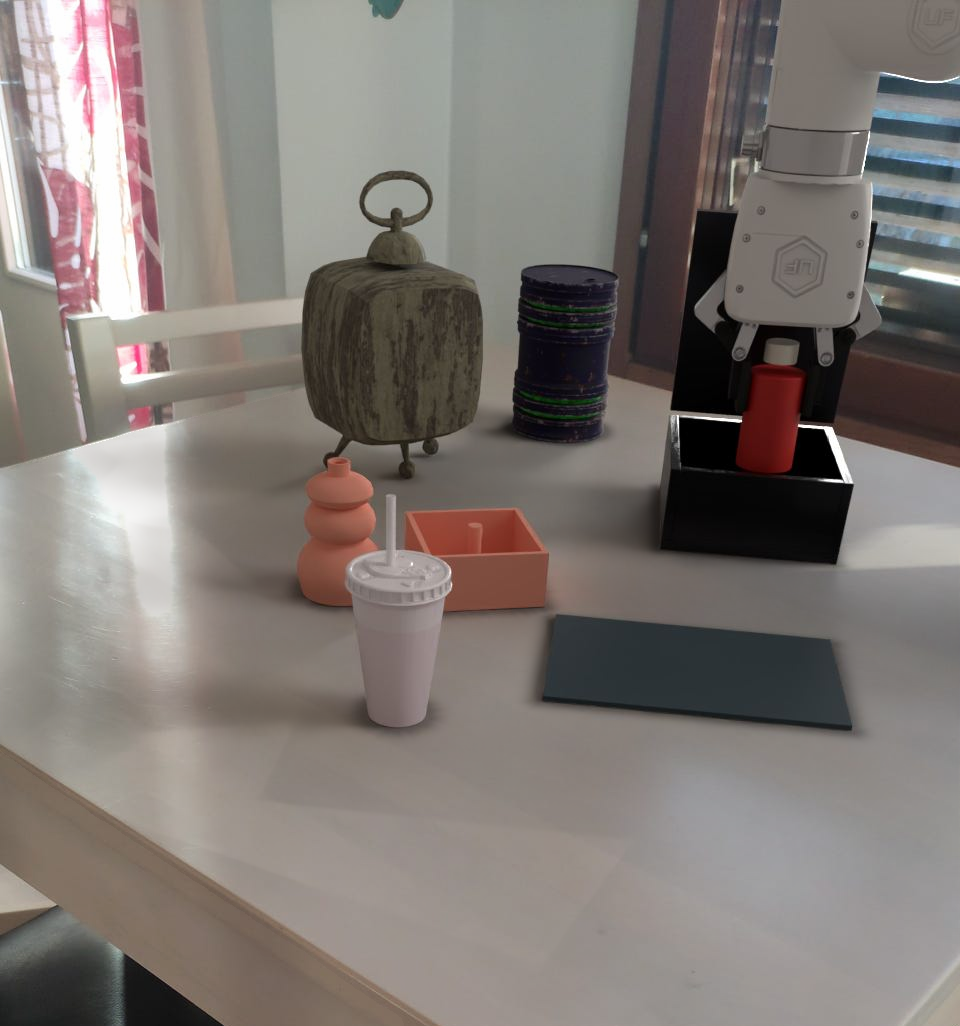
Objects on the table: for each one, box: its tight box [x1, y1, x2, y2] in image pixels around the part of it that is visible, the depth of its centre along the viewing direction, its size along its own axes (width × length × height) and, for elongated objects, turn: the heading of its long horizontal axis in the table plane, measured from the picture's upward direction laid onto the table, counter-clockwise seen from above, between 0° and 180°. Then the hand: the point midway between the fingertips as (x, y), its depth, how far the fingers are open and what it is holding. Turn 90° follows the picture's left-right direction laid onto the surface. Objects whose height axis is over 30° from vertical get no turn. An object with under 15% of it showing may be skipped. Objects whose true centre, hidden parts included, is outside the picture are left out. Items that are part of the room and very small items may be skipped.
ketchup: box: [736, 338, 807, 474], centre depth 102 cm, size 5×5×10 cm
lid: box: [669, 208, 879, 425], centre depth 108 cm, size 16×15×1 cm
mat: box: [541, 613, 853, 732], centre depth 87 cm, size 20×13×1 cm, turn 83°
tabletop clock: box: [300, 169, 484, 480], centre depth 111 cm, size 14×9×25 cm, turn 122°
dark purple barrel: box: [511, 263, 620, 443], centre depth 128 cm, size 10×10×15 cm
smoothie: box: [345, 493, 452, 728], centre depth 76 cm, size 6×6×14 cm
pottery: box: [296, 456, 550, 612], centre depth 94 cm, size 18×10×10 cm, turn 102°
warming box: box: [659, 413, 855, 565], centre depth 109 cm, size 16×15×7 cm
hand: (772, 408), depth 102 cm, fingers closed on ketchup, 4 cm apart
